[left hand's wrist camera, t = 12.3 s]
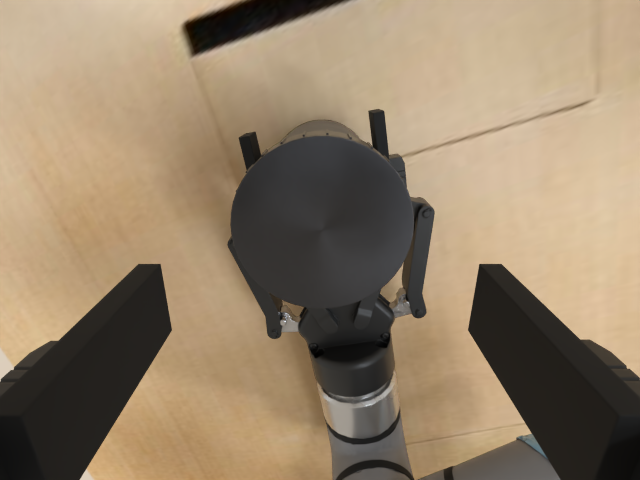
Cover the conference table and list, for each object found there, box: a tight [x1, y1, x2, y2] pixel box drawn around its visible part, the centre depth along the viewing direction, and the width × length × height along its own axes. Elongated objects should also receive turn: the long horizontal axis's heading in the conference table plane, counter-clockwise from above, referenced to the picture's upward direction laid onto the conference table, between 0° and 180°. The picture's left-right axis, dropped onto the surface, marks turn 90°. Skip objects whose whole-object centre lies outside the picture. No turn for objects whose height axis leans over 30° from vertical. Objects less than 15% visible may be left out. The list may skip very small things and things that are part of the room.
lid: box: [231, 129, 414, 308], centre depth 21 cm, size 10×10×2 cm
